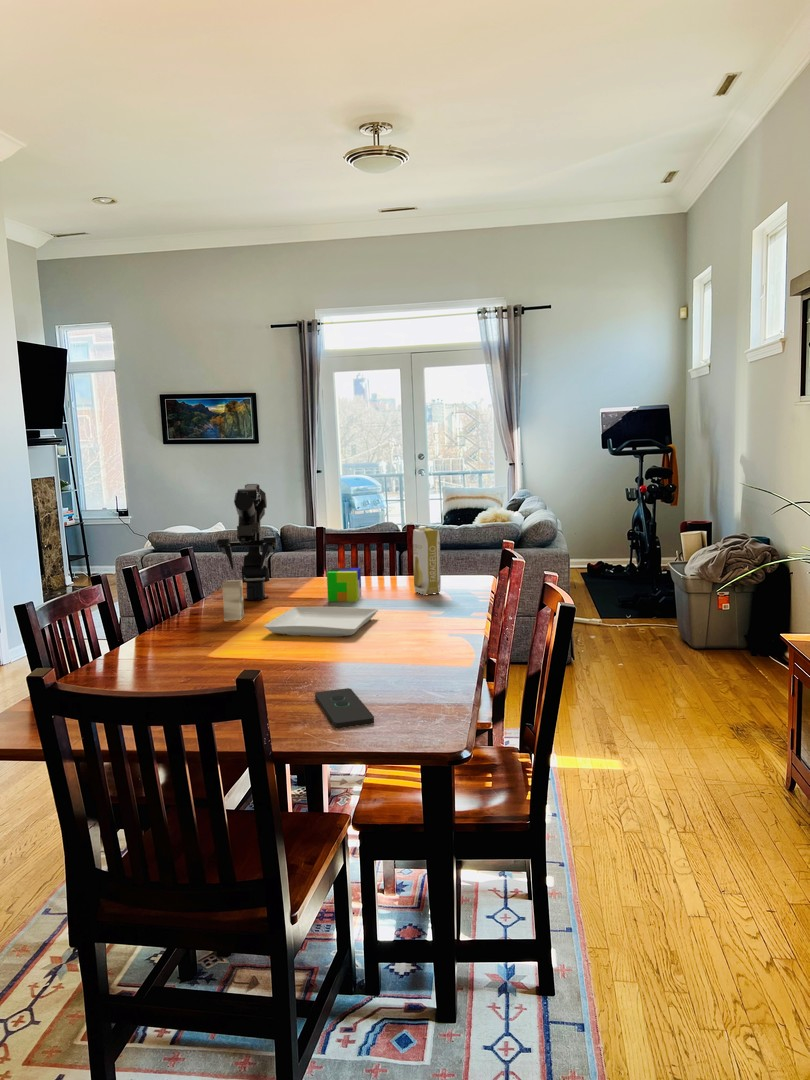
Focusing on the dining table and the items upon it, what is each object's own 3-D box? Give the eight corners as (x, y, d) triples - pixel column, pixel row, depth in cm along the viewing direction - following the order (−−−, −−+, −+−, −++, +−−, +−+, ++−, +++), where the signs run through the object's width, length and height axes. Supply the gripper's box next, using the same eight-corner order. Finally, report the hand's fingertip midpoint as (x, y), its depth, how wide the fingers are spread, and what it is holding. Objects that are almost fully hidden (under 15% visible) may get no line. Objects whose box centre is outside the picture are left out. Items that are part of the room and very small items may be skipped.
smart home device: (350, 687, 172) (375, 717, 153) (351, 694, 172) (376, 725, 153) (313, 691, 169) (334, 722, 150) (313, 699, 169) (334, 731, 150)
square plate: (356, 641, 217) (355, 627, 216) (262, 638, 222) (261, 625, 222) (379, 619, 243) (378, 606, 242) (294, 617, 248) (294, 605, 248)
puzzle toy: (361, 595, 278) (360, 567, 277) (356, 601, 268) (355, 572, 267) (333, 595, 279) (332, 568, 278) (328, 601, 269) (326, 572, 268)
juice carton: (411, 592, 282) (410, 525, 278) (431, 589, 285) (430, 524, 282) (423, 596, 273) (421, 528, 270) (443, 594, 276) (442, 526, 273)
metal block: (228, 617, 248) (226, 580, 247) (244, 617, 248) (242, 579, 247) (224, 621, 243) (222, 583, 242) (240, 621, 243) (238, 582, 242)
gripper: (214, 514, 248) (213, 560, 242) (274, 512, 250) (274, 558, 244) (219, 528, 258) (218, 573, 252) (277, 526, 260) (277, 571, 254)
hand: (247, 568), depth 250 cm, fingers open, 9 cm apart
